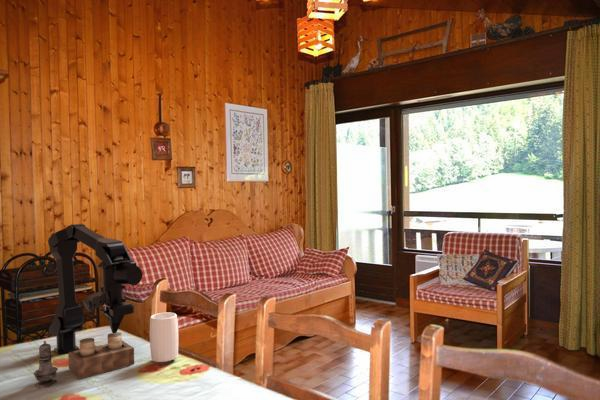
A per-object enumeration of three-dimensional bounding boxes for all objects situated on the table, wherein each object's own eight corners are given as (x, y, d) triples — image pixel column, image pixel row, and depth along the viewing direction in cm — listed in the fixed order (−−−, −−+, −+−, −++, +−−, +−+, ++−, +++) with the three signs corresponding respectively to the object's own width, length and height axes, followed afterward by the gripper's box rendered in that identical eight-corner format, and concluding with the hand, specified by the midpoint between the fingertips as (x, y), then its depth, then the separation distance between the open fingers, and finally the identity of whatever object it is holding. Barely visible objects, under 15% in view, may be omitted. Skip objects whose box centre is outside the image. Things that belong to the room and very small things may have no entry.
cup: (150, 367, 137) (149, 320, 137) (150, 358, 145) (148, 313, 145) (179, 363, 140) (178, 317, 140) (178, 354, 148) (176, 310, 148)
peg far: (106, 349, 142) (105, 334, 142) (119, 345, 144) (118, 331, 144) (110, 352, 139) (110, 337, 138) (123, 349, 141) (123, 334, 141)
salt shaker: (47, 388, 124) (46, 344, 124) (28, 387, 125) (27, 343, 125) (62, 380, 130) (61, 337, 129) (44, 378, 131) (43, 336, 130)
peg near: (78, 355, 136) (77, 340, 136) (92, 352, 139) (91, 337, 139) (82, 359, 133) (81, 343, 133) (96, 355, 136) (96, 340, 136)
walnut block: (78, 379, 130) (77, 360, 130) (68, 369, 137) (68, 351, 137) (134, 364, 140) (133, 347, 140) (122, 355, 148) (122, 339, 148)
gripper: (76, 281, 143) (77, 331, 143) (94, 291, 129) (96, 346, 129) (112, 277, 150) (114, 324, 150) (134, 285, 136) (135, 337, 136)
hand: (114, 332), depth 141 cm, fingers closed
